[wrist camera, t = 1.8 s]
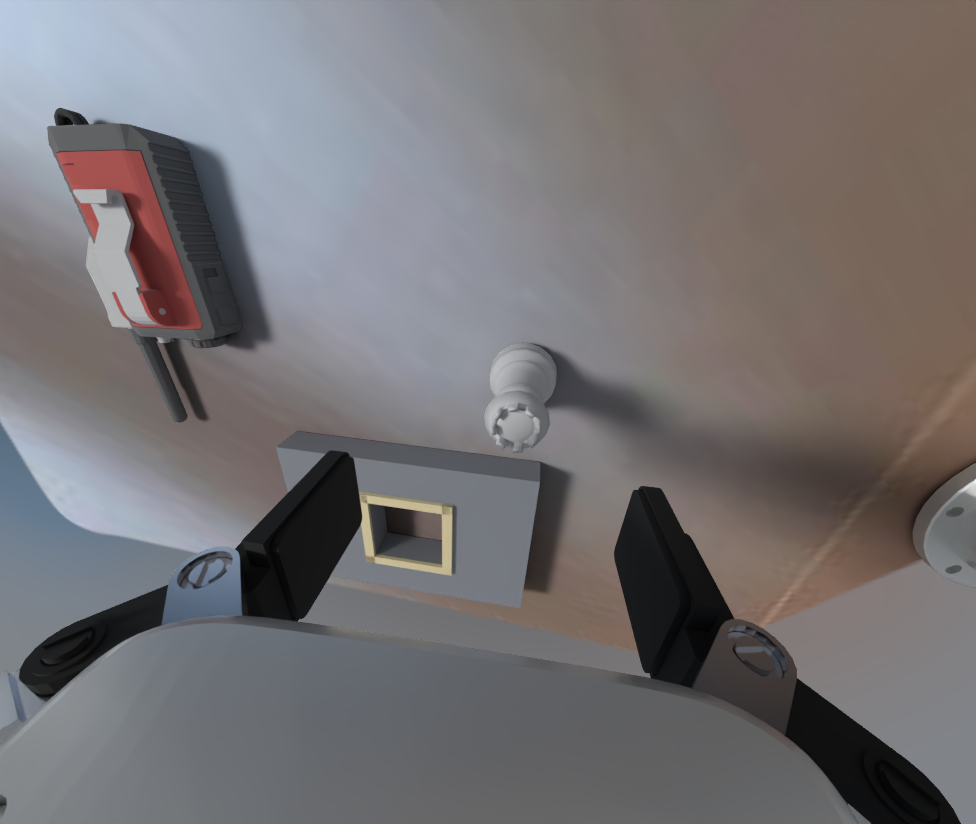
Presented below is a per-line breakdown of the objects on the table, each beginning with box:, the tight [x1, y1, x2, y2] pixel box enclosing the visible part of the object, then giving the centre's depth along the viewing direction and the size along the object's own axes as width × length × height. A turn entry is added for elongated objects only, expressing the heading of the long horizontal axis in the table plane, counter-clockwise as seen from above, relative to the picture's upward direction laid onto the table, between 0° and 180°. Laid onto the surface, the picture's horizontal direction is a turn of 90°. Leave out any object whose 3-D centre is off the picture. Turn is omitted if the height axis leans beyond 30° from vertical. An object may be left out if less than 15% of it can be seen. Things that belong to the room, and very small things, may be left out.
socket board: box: [276, 431, 540, 608], centre depth 29 cm, size 20×14×3 cm
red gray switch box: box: [47, 108, 243, 422], centre depth 23 cm, size 9×4×20 cm
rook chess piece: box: [484, 343, 557, 453], centre depth 20 cm, size 4×4×8 cm
